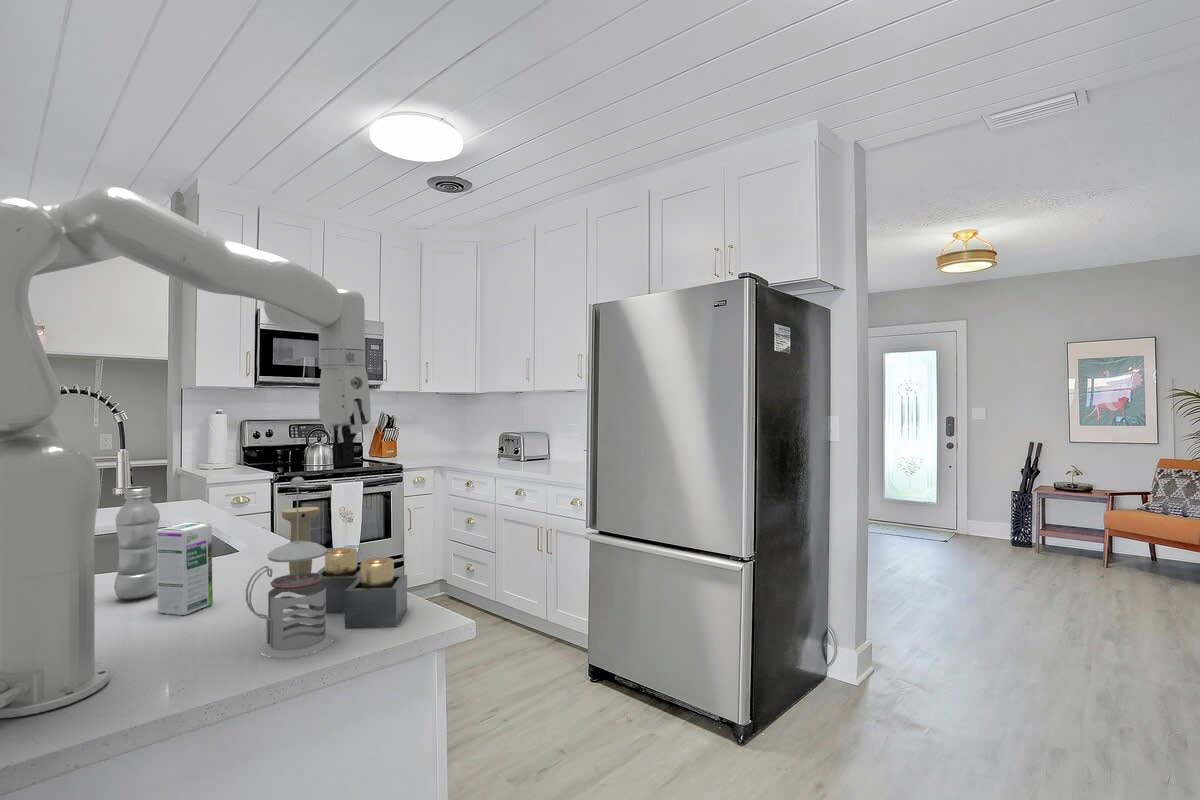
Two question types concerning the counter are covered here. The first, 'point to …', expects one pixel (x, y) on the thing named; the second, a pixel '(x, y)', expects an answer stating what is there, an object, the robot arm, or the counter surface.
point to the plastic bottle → (137, 545)
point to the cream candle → (341, 562)
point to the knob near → (377, 573)
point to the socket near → (375, 604)
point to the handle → (300, 533)
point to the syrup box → (184, 568)
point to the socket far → (336, 590)
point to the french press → (294, 602)
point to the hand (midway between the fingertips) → (343, 464)
